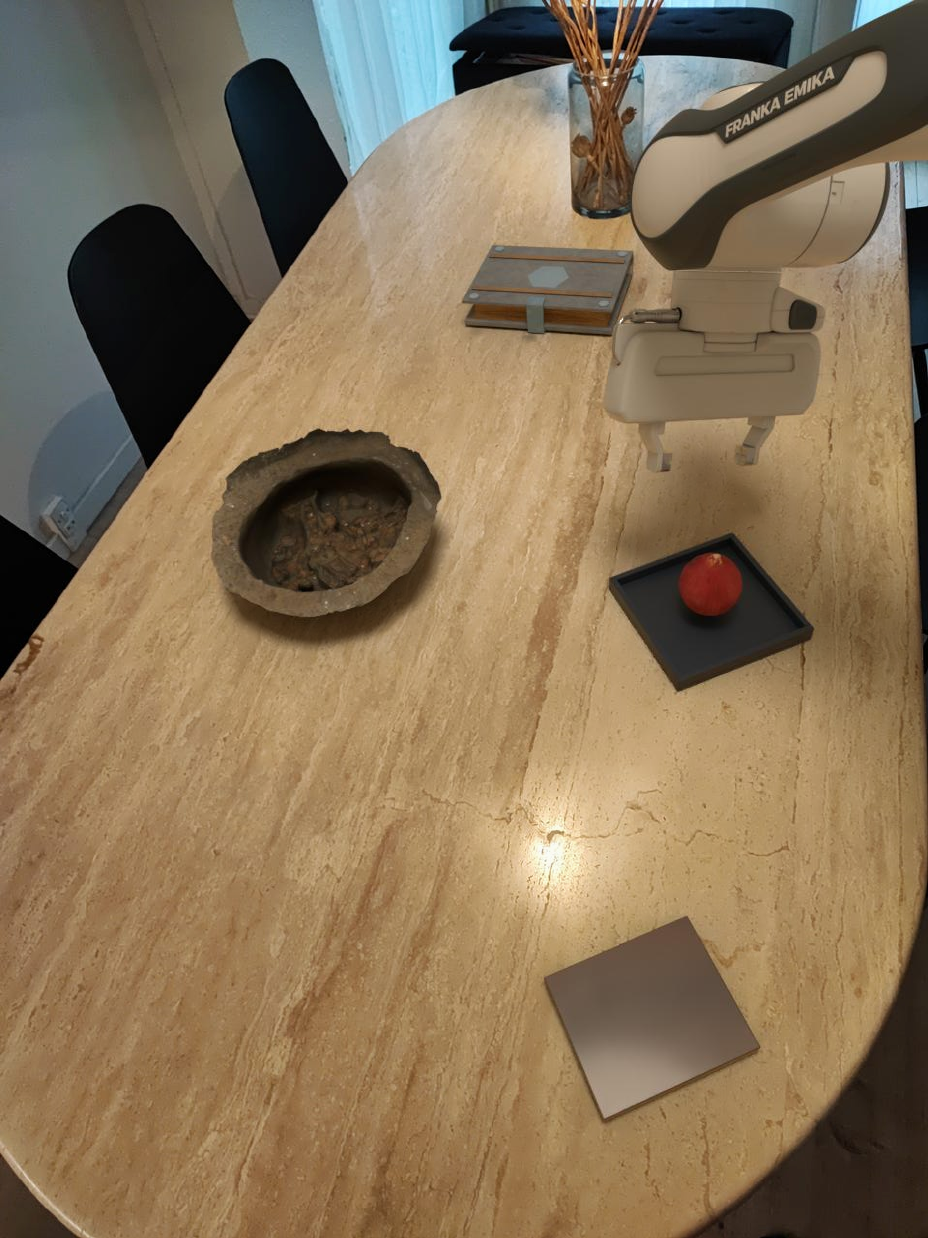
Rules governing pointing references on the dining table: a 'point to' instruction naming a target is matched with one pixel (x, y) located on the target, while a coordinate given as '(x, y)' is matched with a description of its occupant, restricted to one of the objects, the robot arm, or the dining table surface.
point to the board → (649, 1017)
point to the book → (550, 289)
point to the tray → (708, 642)
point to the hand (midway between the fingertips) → (702, 467)
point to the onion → (710, 584)
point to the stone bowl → (323, 522)
